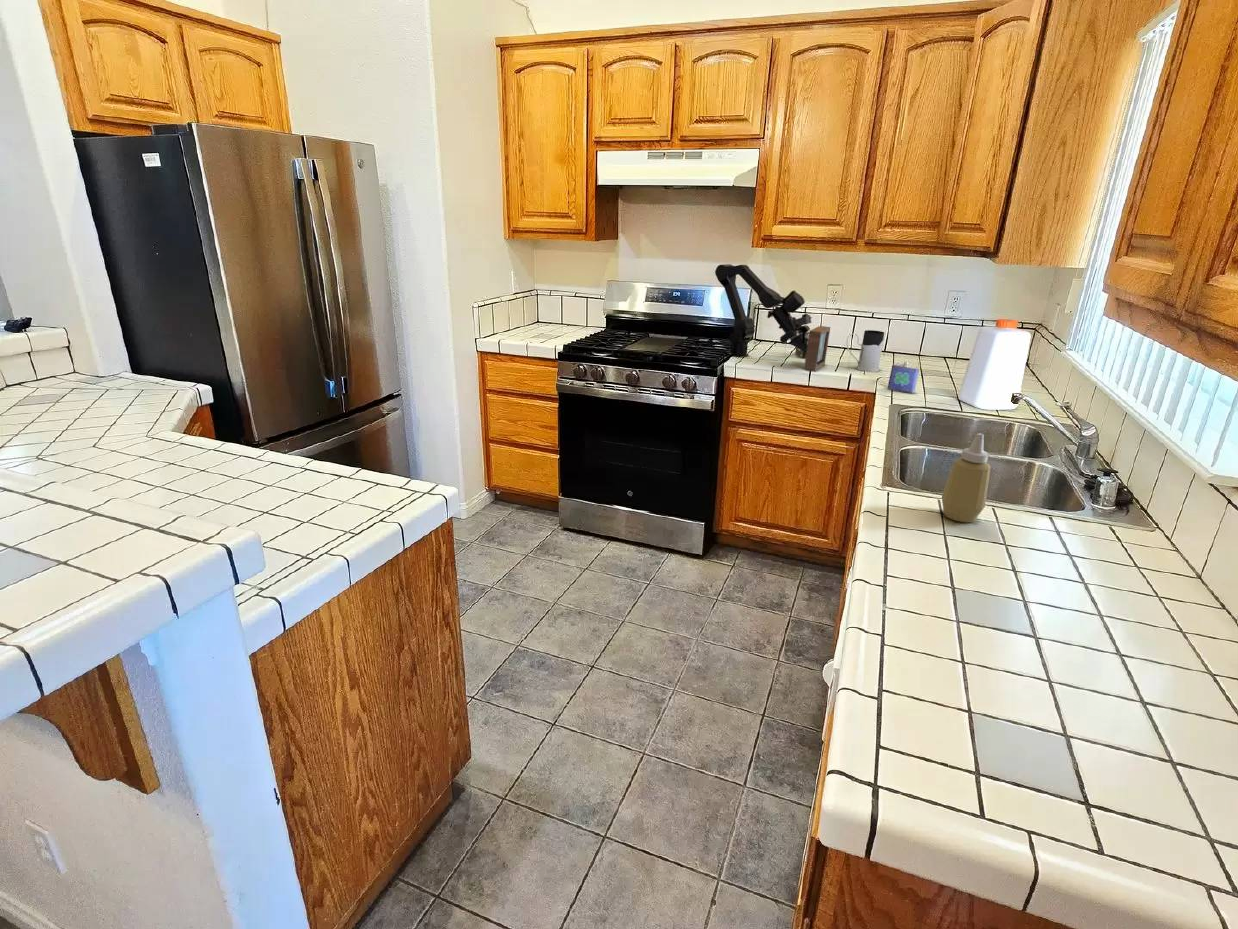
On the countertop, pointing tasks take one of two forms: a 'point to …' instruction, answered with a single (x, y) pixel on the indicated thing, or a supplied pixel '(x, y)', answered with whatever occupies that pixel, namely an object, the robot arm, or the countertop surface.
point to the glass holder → (870, 350)
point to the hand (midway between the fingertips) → (807, 351)
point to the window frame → (817, 348)
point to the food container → (799, 352)
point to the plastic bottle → (996, 366)
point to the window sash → (806, 346)
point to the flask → (903, 378)
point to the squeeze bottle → (967, 483)
